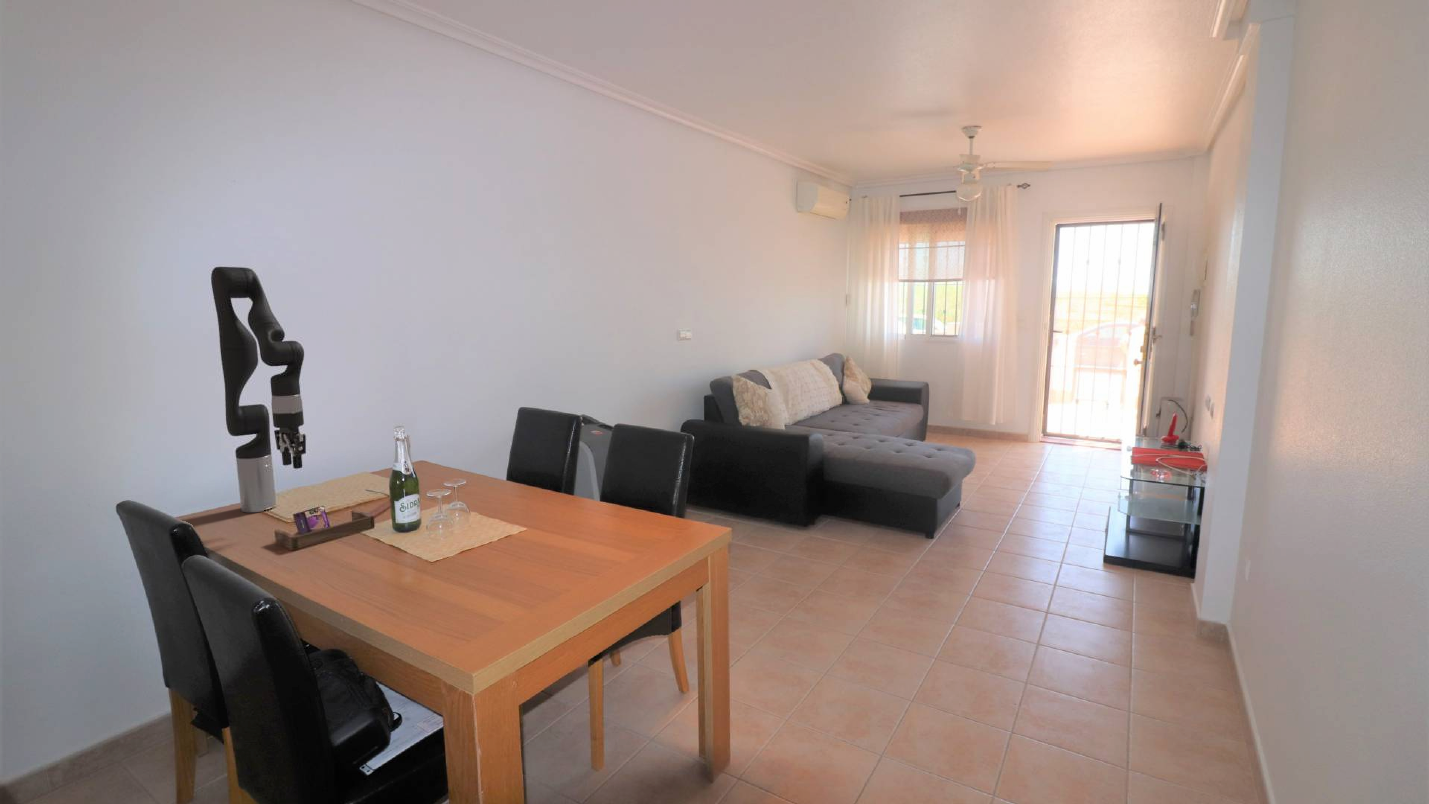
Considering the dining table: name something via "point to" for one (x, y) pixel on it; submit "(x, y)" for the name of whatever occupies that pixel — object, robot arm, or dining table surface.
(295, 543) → the tray
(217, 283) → the robot arm
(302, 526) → the purple printed carton
